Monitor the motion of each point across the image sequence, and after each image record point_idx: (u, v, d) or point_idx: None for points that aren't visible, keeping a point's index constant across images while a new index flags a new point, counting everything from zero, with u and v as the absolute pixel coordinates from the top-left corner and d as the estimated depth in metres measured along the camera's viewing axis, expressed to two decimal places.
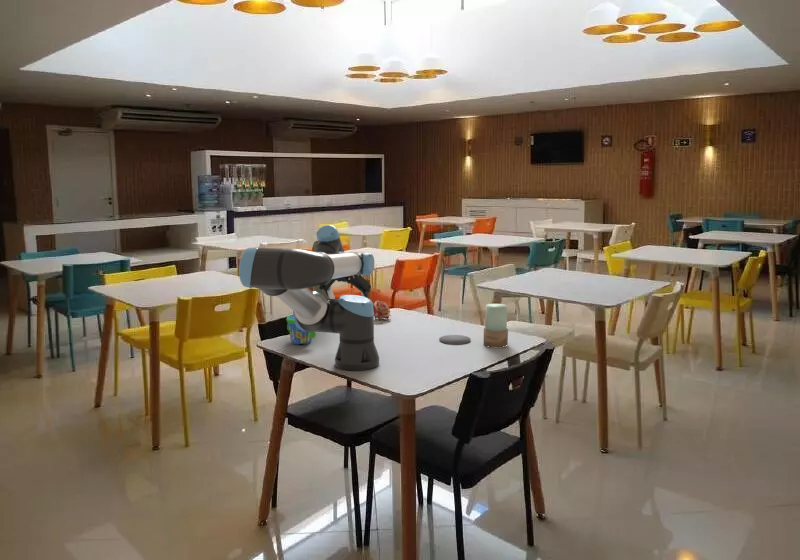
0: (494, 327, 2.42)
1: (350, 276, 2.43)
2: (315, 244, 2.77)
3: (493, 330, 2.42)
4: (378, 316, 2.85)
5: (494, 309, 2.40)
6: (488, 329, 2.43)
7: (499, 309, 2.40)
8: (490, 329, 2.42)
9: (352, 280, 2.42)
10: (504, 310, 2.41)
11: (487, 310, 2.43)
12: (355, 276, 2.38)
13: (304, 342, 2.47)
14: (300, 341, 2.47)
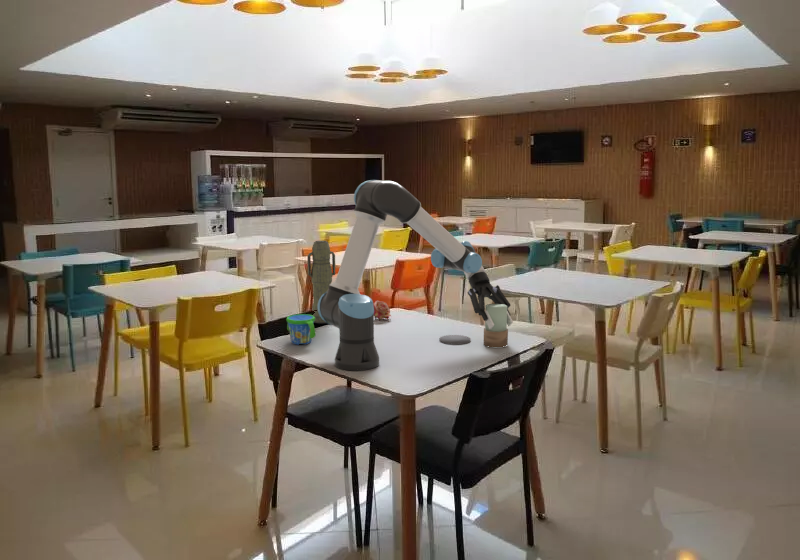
0: (494, 327, 2.42)
1: (489, 296, 2.51)
2: (315, 244, 2.77)
3: (493, 330, 2.42)
4: (378, 316, 2.85)
5: (494, 309, 2.40)
6: (488, 329, 2.43)
7: (499, 309, 2.40)
8: (490, 329, 2.42)
9: None
10: (504, 310, 2.41)
11: (487, 310, 2.43)
12: (498, 287, 2.52)
13: (304, 342, 2.47)
14: (300, 341, 2.47)
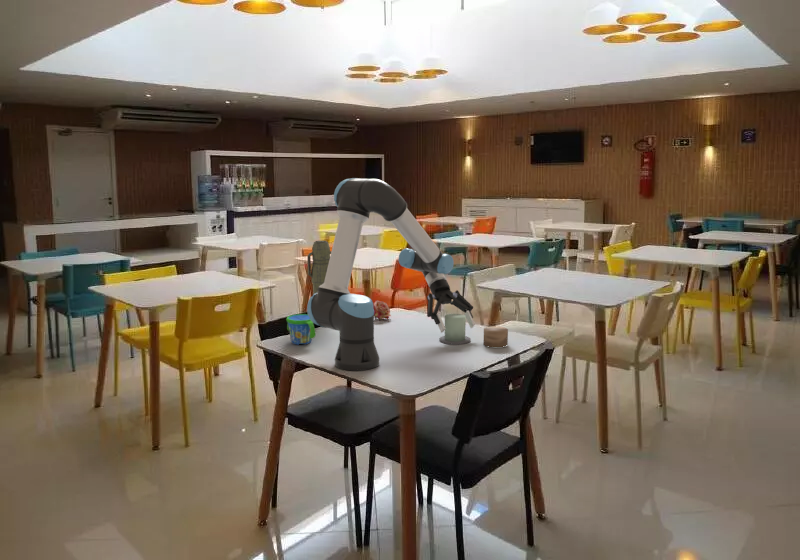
0: (453, 337, 2.49)
1: (451, 302, 2.59)
2: (315, 244, 2.77)
3: (452, 340, 2.49)
4: (378, 316, 2.85)
5: (452, 319, 2.48)
6: (447, 339, 2.50)
7: (457, 319, 2.48)
8: (449, 339, 2.50)
9: None
10: (462, 320, 2.49)
11: (446, 320, 2.50)
12: (457, 292, 2.60)
13: (304, 342, 2.47)
14: (300, 341, 2.47)
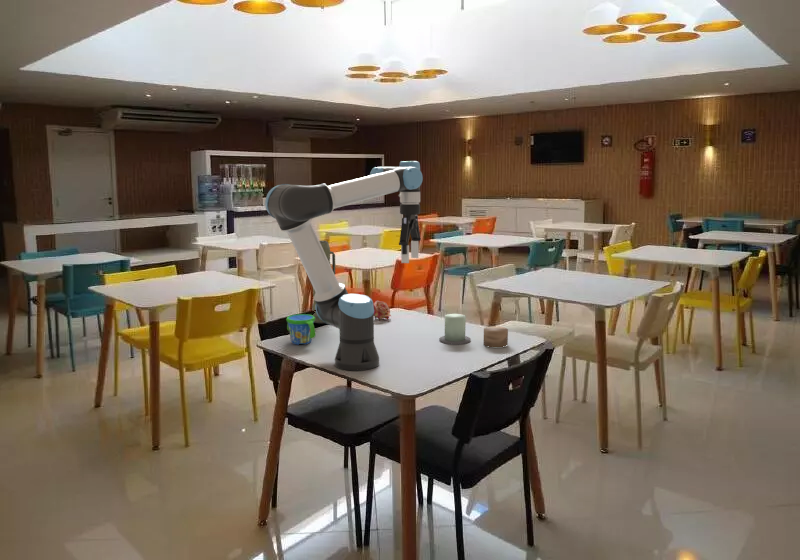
0: (453, 337, 2.49)
1: None
2: None
3: (451, 340, 2.49)
4: (378, 316, 2.85)
5: (452, 319, 2.48)
6: (447, 339, 2.50)
7: (457, 319, 2.48)
8: (449, 339, 2.50)
9: None
10: (462, 320, 2.49)
11: (446, 320, 2.50)
12: (417, 218, 2.48)
13: (304, 342, 2.47)
14: (300, 341, 2.47)
